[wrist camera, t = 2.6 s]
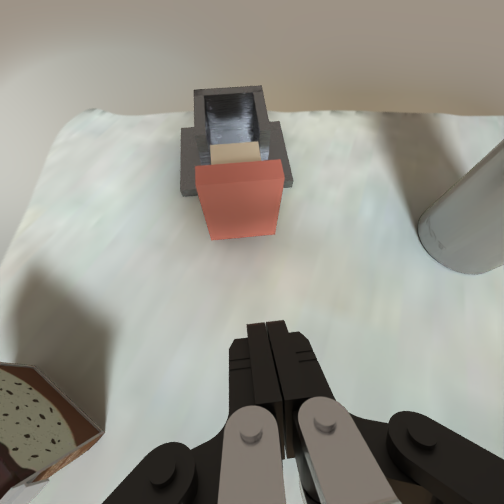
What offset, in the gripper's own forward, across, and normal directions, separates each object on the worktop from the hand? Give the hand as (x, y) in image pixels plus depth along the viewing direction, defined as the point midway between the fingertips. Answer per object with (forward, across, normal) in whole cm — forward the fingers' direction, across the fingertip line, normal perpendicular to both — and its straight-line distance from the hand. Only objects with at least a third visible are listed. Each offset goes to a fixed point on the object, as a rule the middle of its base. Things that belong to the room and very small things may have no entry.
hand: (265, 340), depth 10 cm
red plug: (+22, 0, -2) cm, 22 cm away
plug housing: (+29, 0, -7) cm, 30 cm away
